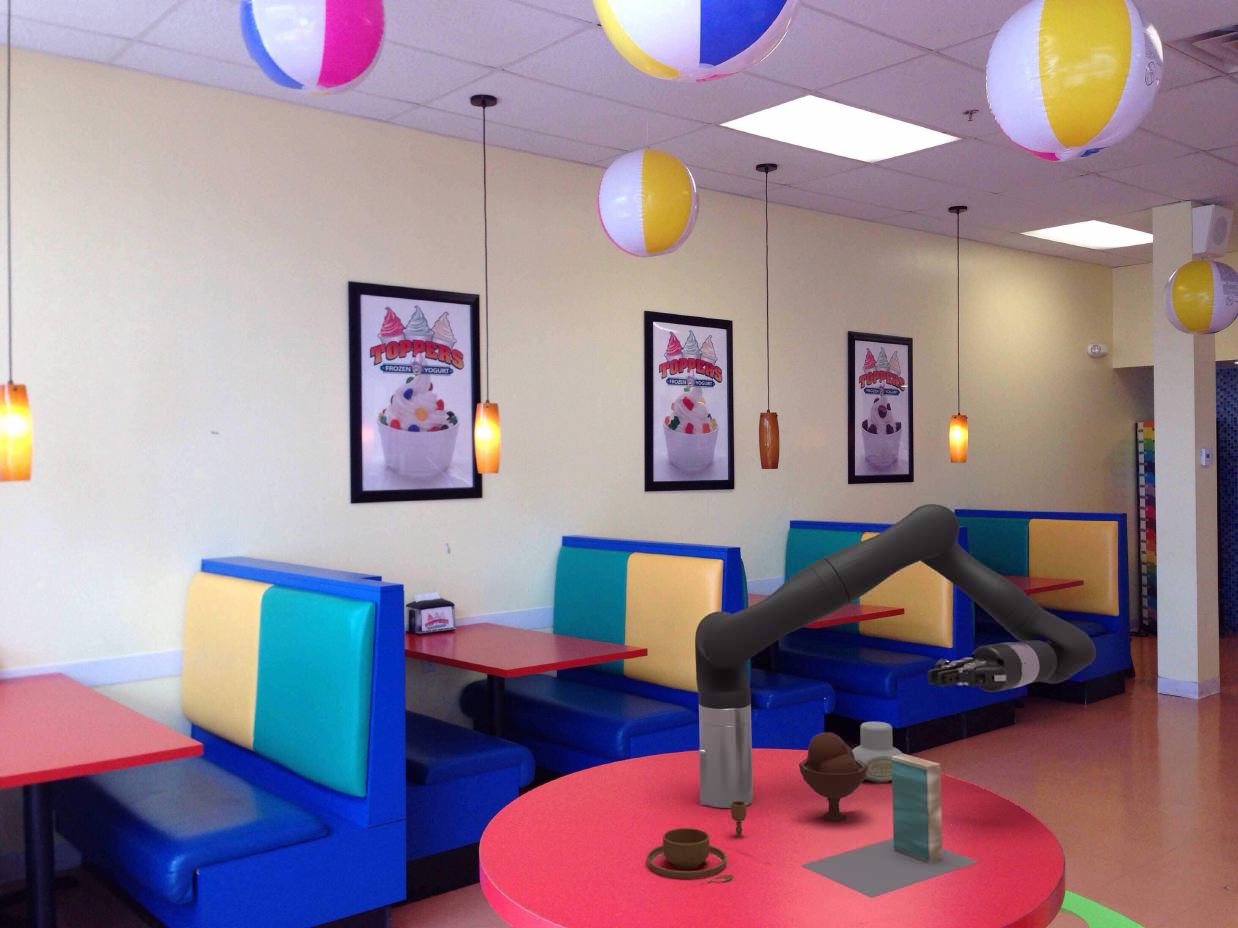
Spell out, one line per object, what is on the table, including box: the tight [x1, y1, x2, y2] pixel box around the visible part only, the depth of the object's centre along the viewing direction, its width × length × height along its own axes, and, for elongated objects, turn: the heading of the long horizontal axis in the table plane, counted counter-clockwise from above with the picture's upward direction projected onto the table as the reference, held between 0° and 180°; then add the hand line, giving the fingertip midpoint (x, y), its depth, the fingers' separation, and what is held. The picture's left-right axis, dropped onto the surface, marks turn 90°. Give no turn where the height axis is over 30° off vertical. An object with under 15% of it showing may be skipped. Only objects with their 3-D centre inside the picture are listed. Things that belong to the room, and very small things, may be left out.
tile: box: [891, 753, 943, 864], centre depth 152 cm, size 3×7×14 cm, turn 32°
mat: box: [799, 837, 979, 898], centre depth 149 cm, size 22×14×1 cm, turn 122°
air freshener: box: [852, 721, 904, 783], centre depth 194 cm, size 11×8×10 cm
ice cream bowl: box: [798, 731, 867, 823], centre depth 170 cm, size 11×11×15 cm
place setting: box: [646, 801, 747, 884], centre depth 154 cm, size 18×20×6 cm
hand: (934, 678), depth 162 cm, fingers closed
